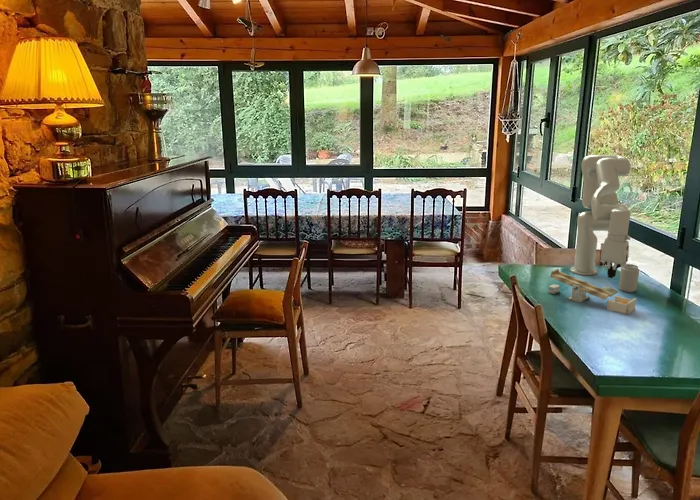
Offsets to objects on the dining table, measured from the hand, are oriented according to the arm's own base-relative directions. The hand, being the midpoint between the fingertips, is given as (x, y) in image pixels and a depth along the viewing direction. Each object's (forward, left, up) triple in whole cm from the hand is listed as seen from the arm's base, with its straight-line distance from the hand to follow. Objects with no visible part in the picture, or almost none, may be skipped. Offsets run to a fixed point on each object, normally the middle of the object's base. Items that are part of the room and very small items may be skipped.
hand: (611, 277), depth 231 cm
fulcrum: (+9, -14, -10) cm, 20 cm away
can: (-18, +2, -11) cm, 21 cm away
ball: (+9, +9, -8) cm, 15 cm away
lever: (+5, -10, -5) cm, 12 cm away
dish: (+9, +9, -10) cm, 16 cm away
